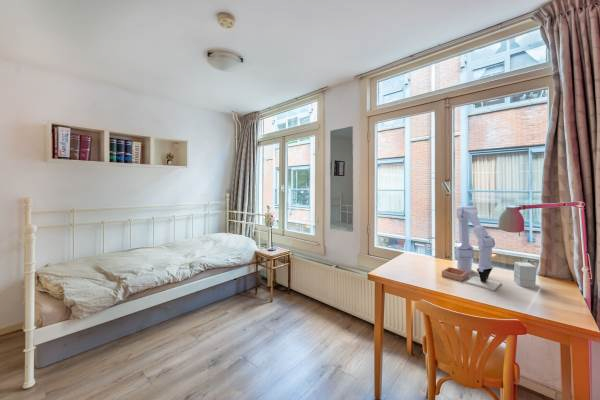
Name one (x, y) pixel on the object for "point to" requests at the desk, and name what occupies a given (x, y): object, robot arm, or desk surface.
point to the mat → (485, 288)
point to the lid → (484, 283)
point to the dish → (455, 274)
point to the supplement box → (524, 274)
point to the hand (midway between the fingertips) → (484, 280)
